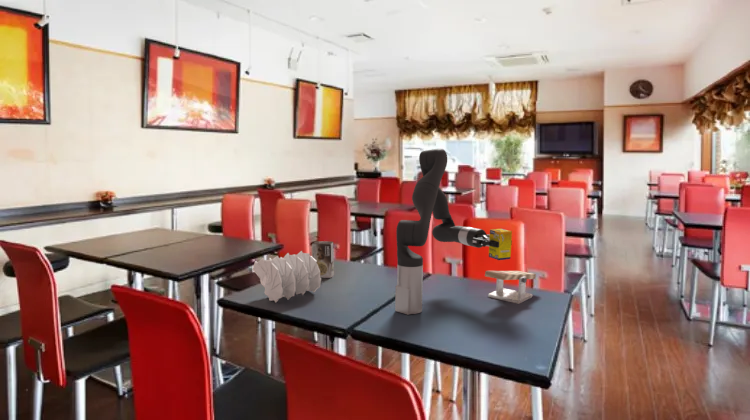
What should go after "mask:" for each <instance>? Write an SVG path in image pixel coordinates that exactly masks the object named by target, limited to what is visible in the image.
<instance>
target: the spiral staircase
mask: <svg viewBox="0 0 750 420" xmlns="http://www.w3.org/2000/svg"><path fill="white" fill-rule="evenodd" d="M316 262H317V261H316V260H315V259H314V258H313V256H312V255H311V254H310V253H308V252H307V253H306V252H303V250H300V251H299V252H298V253H297V254H294V253H293V254H290V253H289V252H287V253H286V254H285V255H284V256H283V257H282V256H280V257H279V255H276V256H275V257H273V258H271V257H269V258H268V259H265V258H264V257H261V258H260V259H259V260H258V261H257V260H255V261H254V264H253V267H252V271H254V272H253V273H255V274H256V275H257V277H258V278H259V281H260V284H261V285H262V286H263V287H264V295H266V296H267V297H268V300H269V301H270V302H271V301H272V302H273V301H274V303H277V302H278V301H279V300H280V299H282V298H286V299H287V300H290V299H291V298H292V297H295V294H296V295H300V294H301V295H302V296H304V294H305V293H306V292H313V293H315V292H316V291H317V290H318V289H320V288H321V283H322V278H320V270H319V267H318V264H317V263H316Z"/></svg>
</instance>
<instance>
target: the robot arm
mask: <svg viewBox="0 0 750 420" xmlns="http://www.w3.org/2000/svg"><path fill="white" fill-rule="evenodd" d="M418 159H419V161H418V162H419V167H420V171H421V174H422V177H421V178H420V179H419V180H418V181H417V182H416V184H415V186H414V188H413V192H412V195H411V200H412V203H413V206H414V207H415V209H416V211H417V213H418V215H419V217H420V218H419V220H413V219H412V220H411V219H401V220H399V221H398V223H397V226H396V232H395V234H396V235H395V236H396V250H397V251H396V258H397V259H396V260H397V263H396V264H397V266H396V267H397V272H396V273H397V274H396V277H397V278H396V279H397V282H396V283H397V284H396V285H395V288H394V289H395V291H394V292H395V294H394V295H395V296H394V297H395V300H394V301H395V302H394V304H395V305H394V307H395V308H394V309H395V312H397V313H401V314H405V315H406V316H407V315H417V314H420V313H422V312H423V282H424V281H423V279H424V278H423V276H424V275H423V274H424V272H423V271H424V269H423V268H424V259H423V256H422V255H420V254H418V253H415V252H414V251H413V250H411V249H410V248H409V247H423V246H425V244H426V243H427V240H428V236H429V230H430V225H431V220H432V216H433V218H434V220H441V223H440V224H438V225H436V226H434V227H433V228H432V231H431V233H432V237H433V238H434V239H435V240H436V241H438V242H441V243H442V242H443V243H453V242H454V243H458V244H463V245H465V246H469V247H473V248H477V249H479V248H480V249H481V248H485V247H488V248H489V246H492V247H499V242H498V241H493V240H490V239H489V238H490V233H489V234H487V232H486V231H485V230H484V229H483V228H476V227H471V226H462V225H456V224H455V221H454V219H453V217H452V215H451V213H450V209H449V203H448V198H447V196H446V194H445V193H444V191H443V189H441V188H440V186H441V185H440V184H441V181H442V178H443V176H444V174H445V171H446V168H447V165H448V153H447V152H446V150H445V149H444V148H435V149H434V148H432V149H426V150H423V151H421V152H420V154H419V156H418ZM512 243H513V240H512V239H511V246H512Z"/></svg>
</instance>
